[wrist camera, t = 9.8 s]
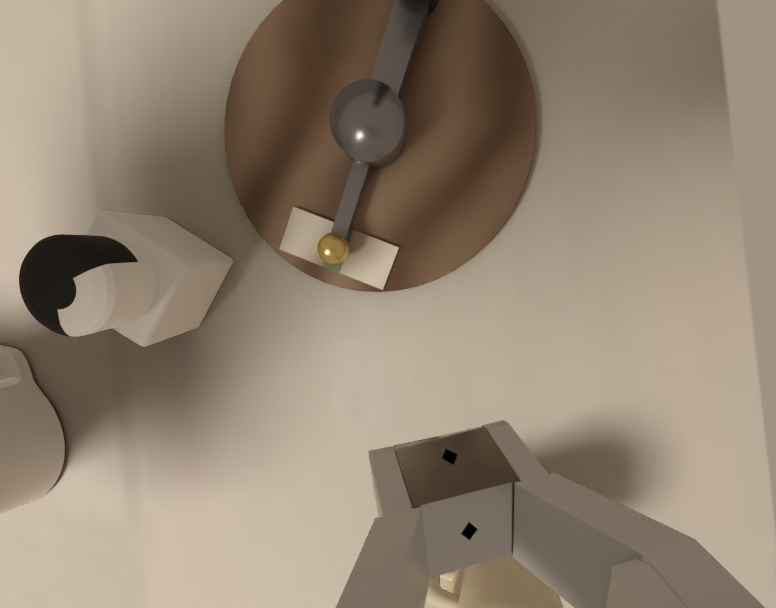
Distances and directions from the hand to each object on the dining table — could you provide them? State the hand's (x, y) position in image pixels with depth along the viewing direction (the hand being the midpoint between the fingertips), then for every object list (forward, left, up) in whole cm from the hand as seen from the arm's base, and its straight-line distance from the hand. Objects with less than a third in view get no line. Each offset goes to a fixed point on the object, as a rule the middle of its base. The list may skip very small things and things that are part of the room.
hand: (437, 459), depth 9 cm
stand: (-9, +10, -25) cm, 28 cm away
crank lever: (-9, +11, -24) cm, 27 cm away
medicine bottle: (-21, -6, -25) cm, 33 cm away
